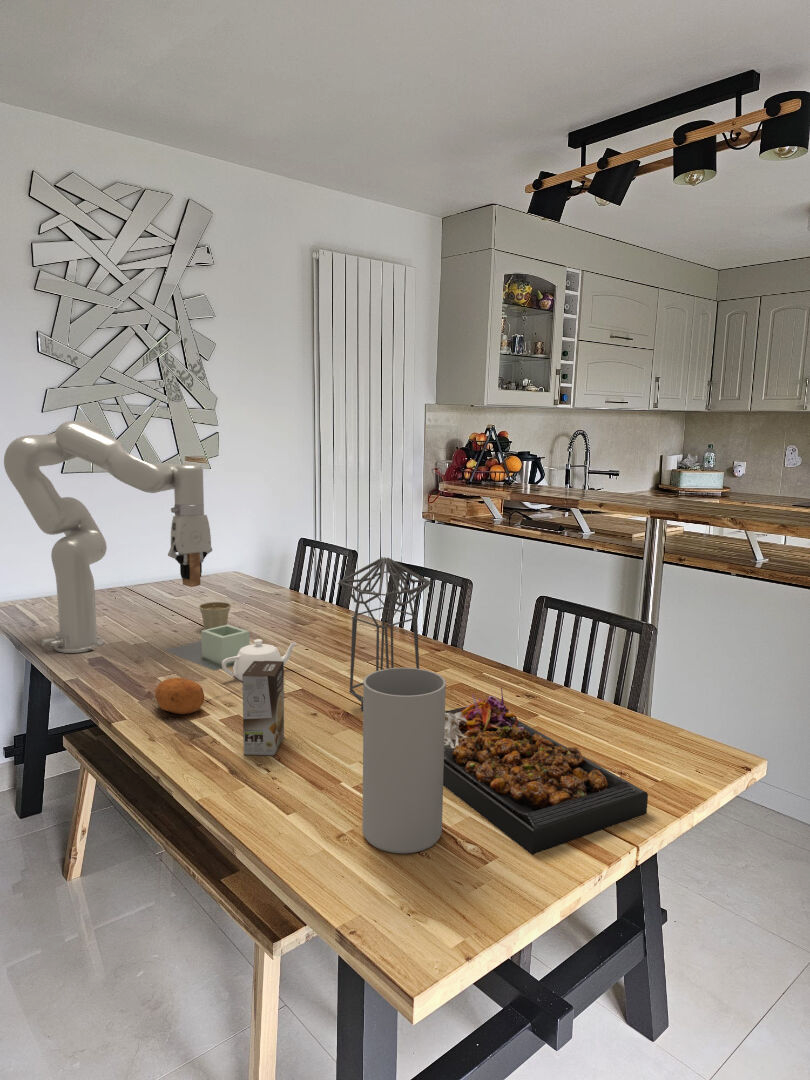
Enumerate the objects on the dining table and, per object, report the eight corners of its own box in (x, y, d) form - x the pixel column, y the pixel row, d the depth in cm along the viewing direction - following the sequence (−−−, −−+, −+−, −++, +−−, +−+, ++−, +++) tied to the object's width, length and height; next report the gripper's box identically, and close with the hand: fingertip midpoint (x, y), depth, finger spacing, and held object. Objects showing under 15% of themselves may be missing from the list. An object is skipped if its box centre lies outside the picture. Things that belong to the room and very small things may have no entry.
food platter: (387, 744, 150) (388, 695, 148) (485, 721, 162) (487, 676, 160) (531, 858, 111) (534, 795, 110) (646, 817, 124) (650, 759, 122)
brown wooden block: (190, 586, 200) (189, 550, 198) (182, 584, 202) (181, 548, 201) (200, 585, 202) (199, 549, 200) (192, 582, 204) (191, 547, 203)
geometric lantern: (433, 710, 166) (436, 558, 159) (381, 732, 155) (382, 569, 148) (385, 690, 177) (386, 547, 170) (334, 709, 166) (332, 557, 159)
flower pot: (236, 629, 226) (235, 602, 225) (225, 638, 217) (225, 610, 215) (206, 628, 227) (205, 601, 226) (194, 637, 218) (193, 608, 216)
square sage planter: (223, 667, 189) (222, 638, 188) (202, 659, 195) (201, 630, 194) (249, 659, 195) (249, 631, 194) (228, 652, 201) (228, 624, 200)
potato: (169, 723, 156) (167, 690, 155) (147, 708, 165) (145, 675, 163) (209, 712, 163) (208, 680, 161) (186, 698, 171) (185, 667, 170)
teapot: (285, 665, 195) (285, 627, 193) (308, 678, 185) (308, 639, 183) (212, 679, 183) (211, 639, 182) (232, 694, 173) (231, 653, 172)
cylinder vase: (349, 845, 113) (349, 689, 109) (380, 806, 124) (382, 663, 120) (426, 863, 109) (430, 701, 104) (451, 821, 120) (456, 674, 116)
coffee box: (275, 756, 142) (274, 676, 140) (242, 755, 142) (241, 675, 140) (285, 736, 151) (284, 660, 149) (253, 735, 151) (252, 659, 149)
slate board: (214, 674, 187) (214, 670, 187) (163, 653, 202) (163, 649, 202) (259, 661, 197) (259, 657, 197) (207, 642, 213) (207, 639, 213)
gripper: (169, 514, 190) (172, 584, 193) (223, 509, 202) (224, 575, 205) (154, 511, 195) (156, 579, 198) (207, 507, 207) (209, 571, 210)
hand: (191, 576), depth 202 cm, fingers closed on brown wooden block, 3 cm apart
